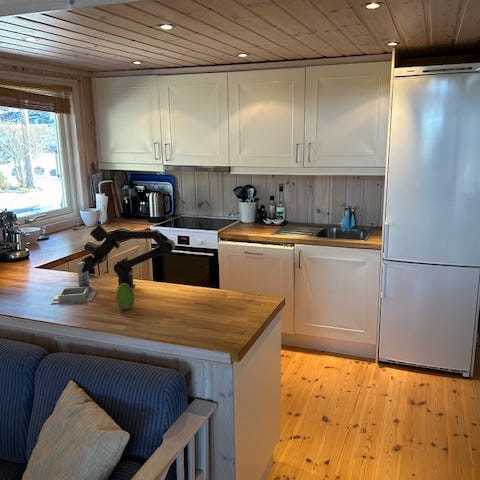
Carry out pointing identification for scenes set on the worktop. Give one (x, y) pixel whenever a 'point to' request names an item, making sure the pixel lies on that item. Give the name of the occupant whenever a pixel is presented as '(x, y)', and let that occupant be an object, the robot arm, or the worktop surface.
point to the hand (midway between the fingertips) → (86, 269)
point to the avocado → (125, 296)
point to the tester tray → (74, 295)
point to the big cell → (82, 275)
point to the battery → (88, 270)
